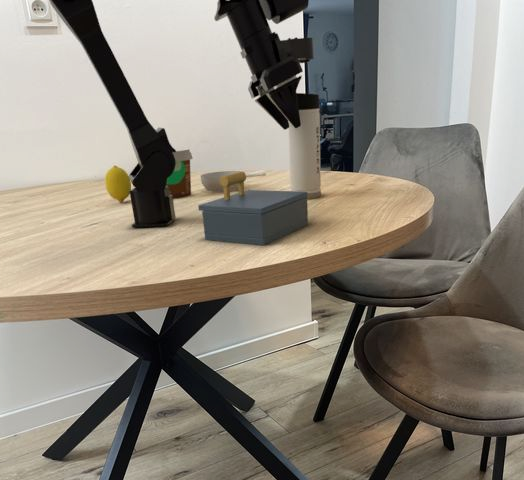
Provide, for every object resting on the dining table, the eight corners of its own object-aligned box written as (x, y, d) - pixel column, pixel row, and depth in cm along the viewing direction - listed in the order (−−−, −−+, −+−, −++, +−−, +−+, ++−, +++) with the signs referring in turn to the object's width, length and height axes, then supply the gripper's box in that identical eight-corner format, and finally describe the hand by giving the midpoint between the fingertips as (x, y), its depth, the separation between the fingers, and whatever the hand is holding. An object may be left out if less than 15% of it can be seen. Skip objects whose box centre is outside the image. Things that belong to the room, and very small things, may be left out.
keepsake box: (205, 239, 79) (201, 211, 77) (253, 220, 90) (251, 194, 88) (263, 245, 74) (261, 214, 72) (308, 224, 84) (307, 197, 82)
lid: (198, 210, 78) (195, 180, 76) (248, 194, 88) (246, 167, 86) (261, 214, 72) (259, 181, 70) (307, 196, 82) (306, 168, 80)
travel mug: (285, 196, 110) (280, 92, 101) (313, 192, 111) (311, 90, 102) (295, 200, 104) (291, 91, 95) (325, 197, 106) (324, 88, 97)
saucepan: (221, 184, 132) (219, 169, 130) (278, 187, 122) (278, 170, 120) (192, 191, 124) (190, 175, 122) (252, 195, 114) (250, 177, 113)
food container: (137, 200, 117) (129, 154, 113) (148, 196, 123) (141, 151, 118) (187, 199, 114) (181, 151, 110) (196, 194, 120) (191, 149, 115)
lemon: (127, 204, 114) (120, 166, 110) (104, 205, 115) (97, 167, 112) (137, 199, 119) (131, 163, 115) (115, 200, 120) (109, 164, 116)
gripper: (311, -2, 77) (349, 103, 83) (285, 25, 94) (318, 110, 100) (245, 33, 77) (288, 135, 83) (232, 54, 94) (268, 136, 100)
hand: (292, 127), depth 92 cm, fingers open, 9 cm apart
